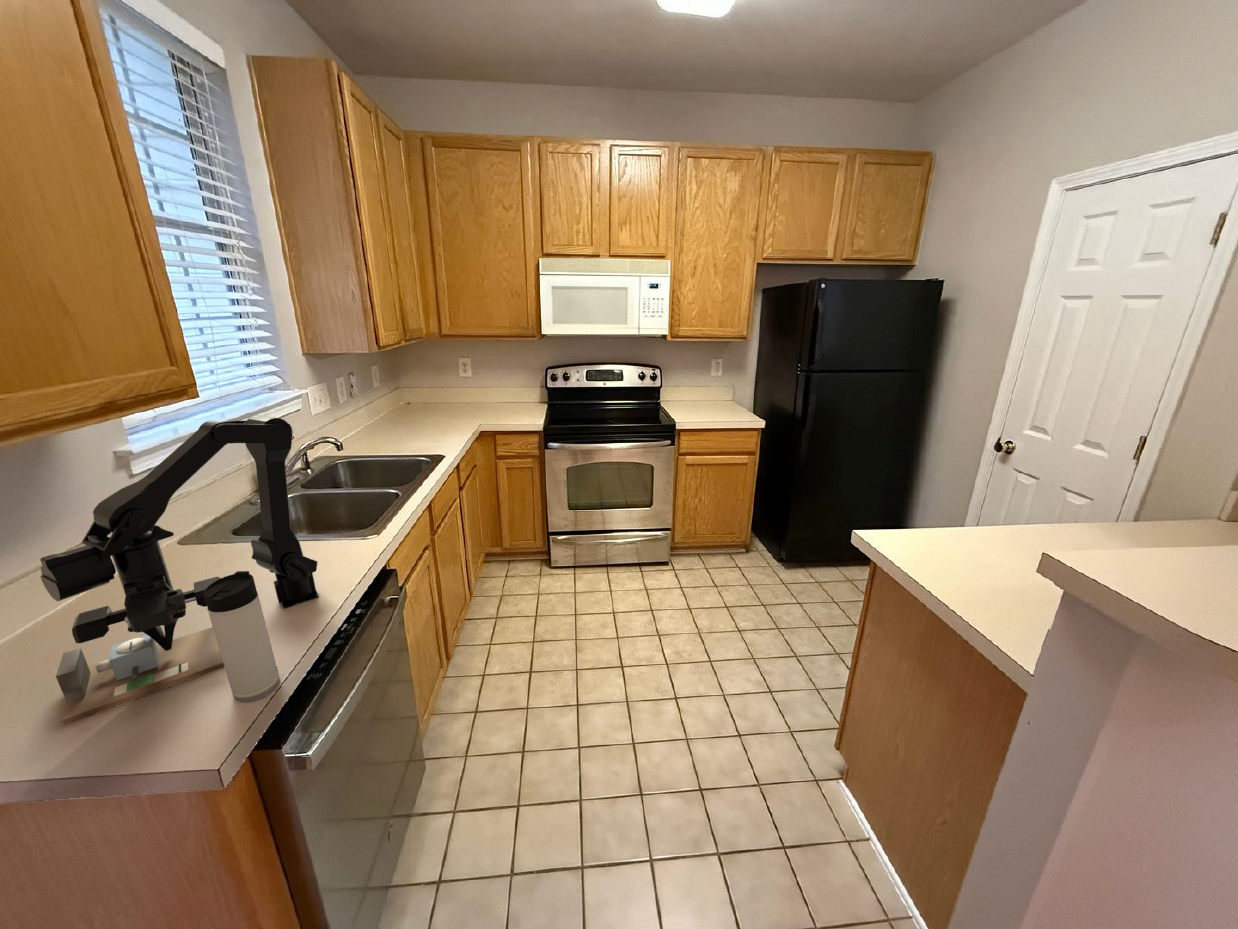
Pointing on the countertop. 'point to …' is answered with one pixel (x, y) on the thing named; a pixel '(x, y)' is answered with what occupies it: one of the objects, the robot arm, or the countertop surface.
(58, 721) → the countertop surface
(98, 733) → the countertop surface
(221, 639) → the travel mug
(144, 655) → the force gauge
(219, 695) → the countertop surface
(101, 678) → the gauge board
